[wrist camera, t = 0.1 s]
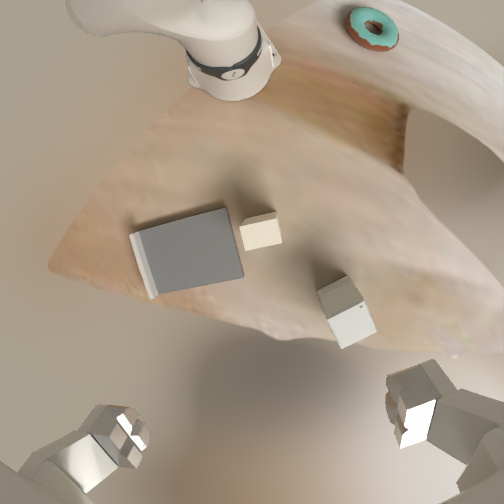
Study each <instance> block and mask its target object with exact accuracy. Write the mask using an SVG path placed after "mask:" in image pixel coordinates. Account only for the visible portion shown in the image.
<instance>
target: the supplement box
mask: <svg viewBox="0 0 504 504" xmlns="http://www.w3.org/2000/svg"><path fill="white" fill-rule="evenodd" d="M317 293H318V296H319V299H320V301H321V304H322V307H323V310H324V313H325V315H326V318H327V321H328V324H329V326H330V328H331V330H332V332H333V334H334V336H335V338H336V340H337V342H338V344H339V346H340V348H341V349H343V348H345V347H347V346H349V345H351V344H353V343H355V342H357V341H359V340H361V339H363V338H365V337H367V336H369V335H371V334H373V333H375V332H377V330H376V327H375V325H374V322H373V320H372V317H371V314H370V312H369V310H368V307H367V305H366V302H365V300H364V298H363V297H362V295H361V294H360V292H359V291H358V290H357V288H356V287H355V285H354V284H353V282H352V281H351V279H350V278H349V277H348V275H347V276H345V277H343V278H341V279H339V280H337V281H335V282H333V283H331V284H329V285H327V286H325V287H324V288H321V289H320V290H318V291H317Z"/></svg>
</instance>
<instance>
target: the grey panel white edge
mask: <svg viewBox="0 0 504 504" xmlns="http://www.w3.org/2000/svg"><path fill="white" fill-rule="evenodd" d="M129 236H130V240H131V243H132V247H133V250H134V253H135V256H136V259H137V260H136V261H137V264H138V267H139V270H140V273H141V275H142V278H143V281H144V284H145V287H146V289H147V292H148V295H149V298H150V299H154V298H155V297H156V296H157V295H158V294H161V293H167V292H172V291H177V290H183V289H188V288H193V287H199V286H204V285H209V284H214V283H219V282H224V281H229V280H234V279H239V278H244V272H243V268H242V264H241V260H240V257H239V253H238V249H237V245H236V241H235V237H234V233H233V229H232V226H231V222H230V218H229V214H228V210H227V207H225V208H221V209H217V210H213V211H209V212H205V213H202V214H198V215H194V216H190V217H186V218H183V219H179V220H175V221H172V222H168V223H165V224H161V225H158V226H154V227H151V228H147V229H144V230H140V231H137V232H135V233H132V234H130V235H129Z"/></svg>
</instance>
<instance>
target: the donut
mask: <svg viewBox="0 0 504 504" xmlns="http://www.w3.org/2000/svg"><path fill="white" fill-rule="evenodd" d="M365 23H372V24H374V25H376V26H377V27H378V28H379V29H380V30H381V34H380V35H376V34H373V33H371V32H370V31H368V30H367V29H366V27H365ZM346 26H347V30H348V32H349V34H350V35H351V37H352V38H353V39H354V40H355V41H356V42H357V43H358V44H360V45H361V46H363V47H365V48H367V49H369V50H372V51H378V52H382V51H388V50H391V49H392V48H394V47H395V46H396V45H397V43H398V40H399V32H398V29H397V27H396V25H395V23H394V22H393V20H392V19H391V18H390V17H388V16H387V15H386V14H384V13H383V12H381V11H379V10H376V9H373V8H367V7H359V8H356V9H354V10H352V11H351V12H350V13H349V14H348V16H347V18H346Z"/></svg>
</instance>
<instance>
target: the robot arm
mask: <svg viewBox="0 0 504 504" xmlns="http://www.w3.org/2000/svg"><path fill="white" fill-rule="evenodd" d="M66 7H67V11H68V14H69V16H70V18H71V20H72V21H73V22H74V24H75V25H76V26H77V27H79V28H80V29H81V30H83V31H85V32H87V33H89V34H92V35H95V36H101V37H103V36H108V35H114V34H119V33H129V32H142V33H152V34H158V35H163V36H167V37H170V38H173V39H175V40H177V41H178V42H179V43H180V44H181V45H182V46H184V48H185V50H186V52H187V55H186V56H185V57H186V61H187V62H188V82H189V84H190V85H191V86H193V87H196V88H200V89H203V90H205V91H206V92H207V93H209V94H210V95H212V96H213V97H215V98H218V99H221V100H226V101H238V100H243V99H246V98H249V97H251V96H253V95H255V94H256V93H258V92H259V91H260V90H261V89H262V88H263V87H264V86H265V85H266V83H267V82H268V80H269V78H270V75H271V73H272V71H273V70H274V69H275V68H276V67H278V66H279V65H280V63H281V57H280V55H279V54H278V52H277V50H276V49H275V47H274V46H273V44H272V42H271V41H270V39H269V38H268V36H267V35H266V33H265V32H264V30H263V29H262V27H261V26H260V24H259V23H258V21H257V20H256V15H255V9H254V7H253V5H252V3H251V2H250V1H249V0H66ZM272 54H274V56H273V55H272ZM386 386H387V388H388V390H389V391H388V393H387V394H386V401H385V403H386V411H387V414H388V418H389V420H390V422H391V423H393V424H394V425H395V431H394V433H395V436H396V439H397V441H398V444H399V446H400V448H403V447H406V446H408V445H412V444H414V443H417V442H420V441H423V440H425V439H427V441H428V442H430V443H431V444H433V445H435V446H436V447H438V448H439V449H441V450H443V451H444V452H446V453H447V454H449V455H451V456H452V457H454V458H456V459H457V460H459V461H461V462H462V463H464V464H466V465H467V466H466V468H465V469H464V471H463V473H462V474H461V476H460V477H459V479H458V481H457V482H456V483H457V485H458V488H459V490H460V494H458V495H456V496H454V497H452V498H450V499H448V500H446V501H444V502H441V503H439V504H504V402H501V401H498V400H494V399H491V398H488V397H485V396H482V395H479V394H476V393H473V392H470V391H467V390H464V389H460V390H457V389H456V387H455V386H454V385H453V383H452V382H451V381H450V379H449V378H448V377H447V375H446V374H445V373H444V371H443V370H442V369H441V367H440V366H439V365H438V363H437V362H436V361H435V360H433V359H431V360H429V361H426V362H423V363H421V364H418V365H416V366H413V367H410V368H407V369H404V370H401V371H399V372H396V373H393V374H390V375H387V378H386ZM138 417H139V414H138V413H137V412H136V410H135V408H131V407H124V406H113V405H103V404H99V405H96V406H95V408H94V409H93V410H92V412H91V413H90V414H89V416H88V417H87V418H86V420H85V421H84V423H83V424H82V425H81V427H80V428H79V429H78V431H73V432H71V433H69V434H67V435H66V436H64V437H62V438H60V439H58V440H56V441H54V442H52V443H51V444H49V445H47V446H45V447H43V448H41V449H39V450H37V451H35V452H33V453H32V454H31V455H30V457H29V458H28V459H27V461H26V462H25V463H24V465H23V466H22V467H21V469H20V470H19V471H18V473H17V472H15V471H14V470H12V469H11V468H10V467H8V466H7V465H5V464H4V463H2V462H1V461H0V504H94V500H93V499H92V498H91V497H89V496H88V495H87V494H86V493H87V492H88V491H90V490H91V489H92V488H93V487H95V486H96V485H97V484H98V483H100V482H101V481H102V480H103V479H104V478H106V477H107V476H108V475H109V474H111V473H112V472H113V471H114V470H115V469H116V468H118V466H121V467H127V468H133V469H137V468H138V465H139V463H140V461H141V459H142V457H143V455H142V452H141V451H142V450H143V449H145V448H146V447H147V446H148V443H149V441H150V433H149V430H148V428H147V426H146V425H145V423H143V422H142V421H141V420H139V419H138Z"/></svg>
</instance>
